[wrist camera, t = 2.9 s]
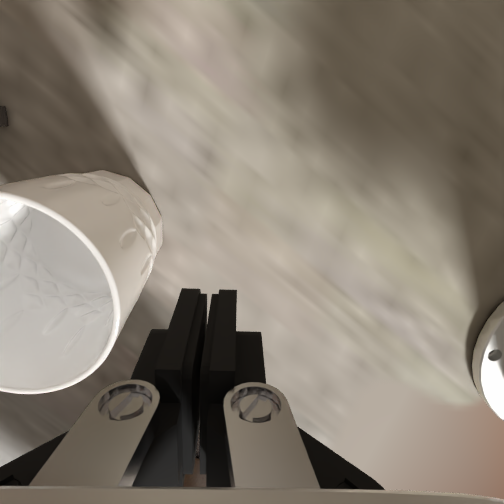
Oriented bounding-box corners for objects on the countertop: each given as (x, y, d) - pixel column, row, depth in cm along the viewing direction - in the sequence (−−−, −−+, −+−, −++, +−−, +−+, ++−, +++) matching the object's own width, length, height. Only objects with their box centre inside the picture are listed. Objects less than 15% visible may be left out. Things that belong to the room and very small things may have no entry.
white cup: (33, 155, 21) (-140, 182, 12) (173, 163, 22) (113, 198, 12) (48, 283, 24) (-83, 390, 15) (174, 290, 24) (124, 399, 15)
